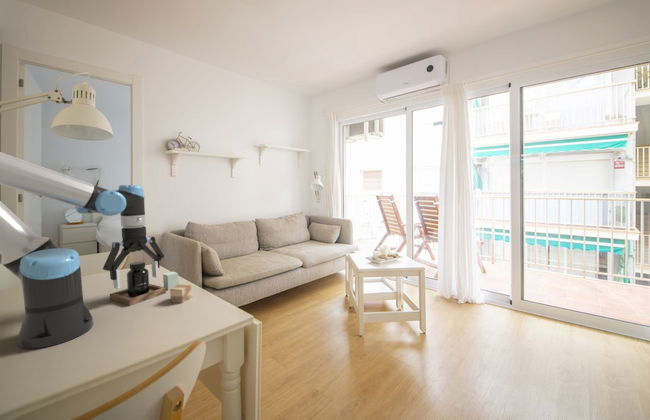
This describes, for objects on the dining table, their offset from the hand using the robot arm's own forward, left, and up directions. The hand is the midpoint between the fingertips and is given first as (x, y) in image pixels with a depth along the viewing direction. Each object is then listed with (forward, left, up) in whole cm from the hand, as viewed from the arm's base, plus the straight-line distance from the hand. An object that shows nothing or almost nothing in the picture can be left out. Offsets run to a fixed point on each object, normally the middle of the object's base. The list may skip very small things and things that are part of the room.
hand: (137, 282), depth 104 cm
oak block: (+5, -18, -5) cm, 20 cm away
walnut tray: (0, 0, -5) cm, 5 cm away
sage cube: (+11, -3, -5) cm, 13 cm away
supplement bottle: (0, 0, -5) cm, 5 cm away
